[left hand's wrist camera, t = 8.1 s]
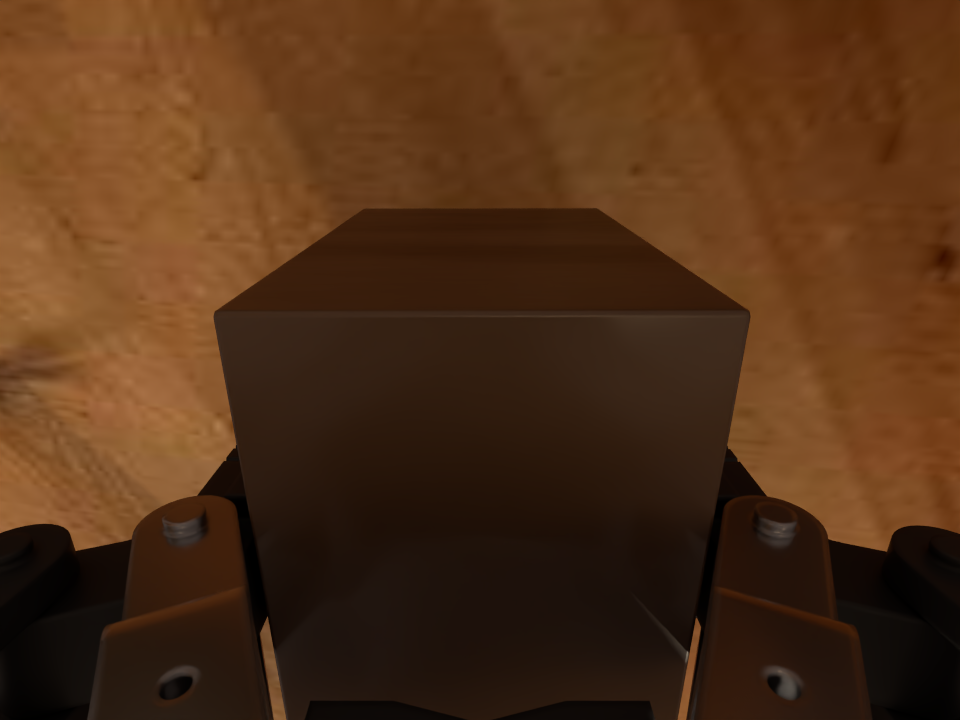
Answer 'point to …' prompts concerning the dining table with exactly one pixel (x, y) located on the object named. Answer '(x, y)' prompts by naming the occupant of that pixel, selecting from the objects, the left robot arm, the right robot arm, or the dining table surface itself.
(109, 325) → the dining table surface
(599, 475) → the box
